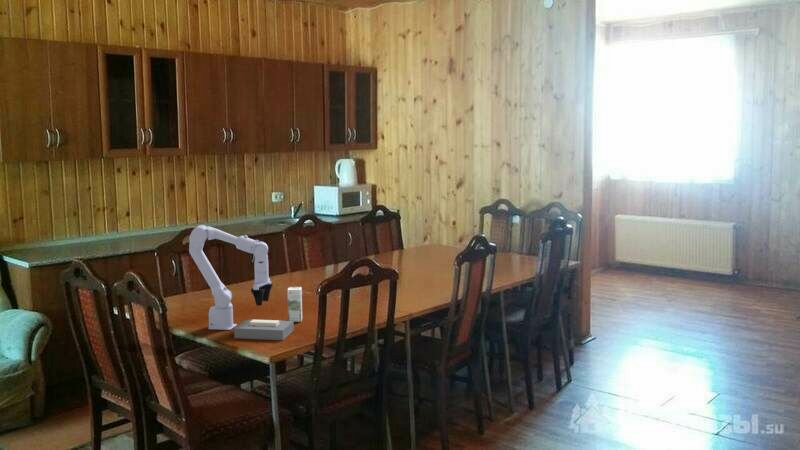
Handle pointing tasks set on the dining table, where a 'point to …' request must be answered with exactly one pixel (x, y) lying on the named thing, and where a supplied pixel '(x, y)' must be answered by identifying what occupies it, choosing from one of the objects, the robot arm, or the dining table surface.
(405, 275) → the dining table surface
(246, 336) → the slotted board
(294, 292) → the syrup box
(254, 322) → the tee block
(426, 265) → the dining table surface
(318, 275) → the dining table surface
